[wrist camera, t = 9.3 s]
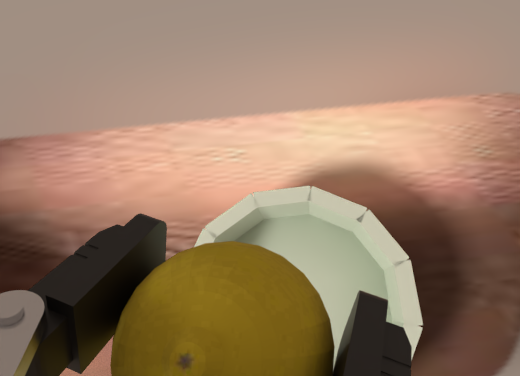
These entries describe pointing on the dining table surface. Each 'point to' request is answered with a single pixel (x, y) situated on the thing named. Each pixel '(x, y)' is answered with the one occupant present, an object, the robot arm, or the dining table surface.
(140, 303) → the lemon
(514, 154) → the dining table surface
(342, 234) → the bowl
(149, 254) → the robot arm
